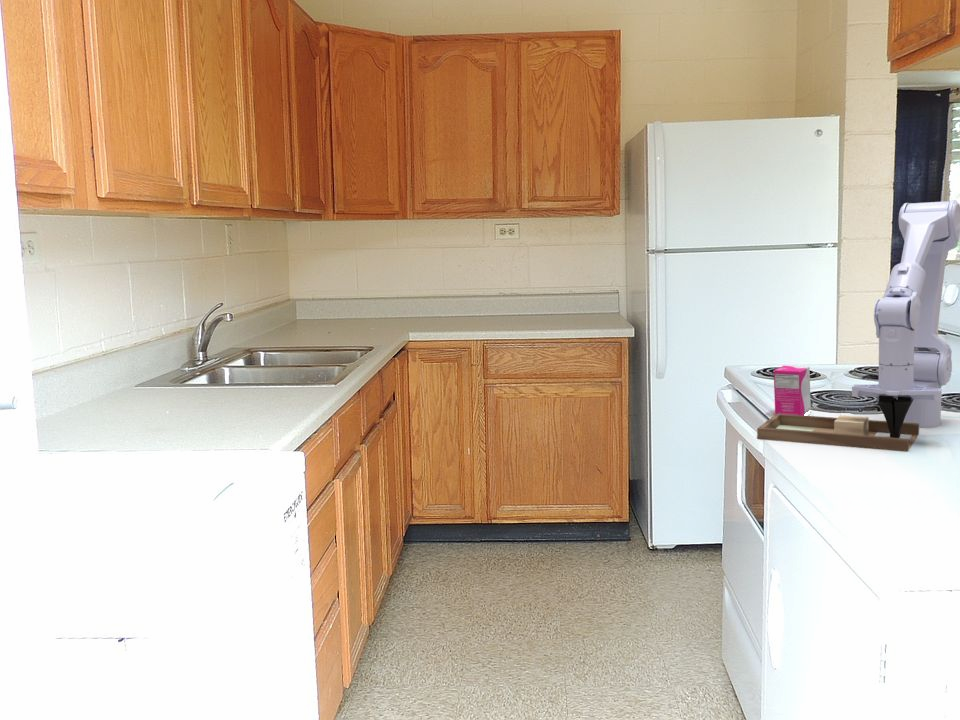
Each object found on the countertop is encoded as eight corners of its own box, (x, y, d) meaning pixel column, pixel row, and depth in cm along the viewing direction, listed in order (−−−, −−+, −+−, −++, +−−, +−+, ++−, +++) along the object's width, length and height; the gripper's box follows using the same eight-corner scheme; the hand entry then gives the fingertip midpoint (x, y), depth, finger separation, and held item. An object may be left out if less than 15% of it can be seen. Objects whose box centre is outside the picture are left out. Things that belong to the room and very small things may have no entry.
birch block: (840, 433, 169) (840, 415, 168) (868, 435, 166) (868, 417, 165) (834, 439, 165) (834, 421, 164) (863, 441, 162) (863, 423, 161)
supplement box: (783, 417, 190) (783, 364, 188) (811, 420, 186) (811, 366, 184) (773, 423, 186) (773, 369, 184) (802, 426, 182) (801, 371, 180)
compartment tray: (776, 430, 179) (776, 413, 179) (918, 441, 165) (919, 423, 164) (757, 446, 169) (757, 428, 168) (907, 459, 154) (907, 440, 154)
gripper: (848, 365, 160) (848, 438, 162) (938, 368, 152) (937, 446, 154) (856, 359, 165) (856, 429, 168) (943, 361, 157) (942, 436, 159)
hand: (895, 437), depth 161 cm, fingers closed
